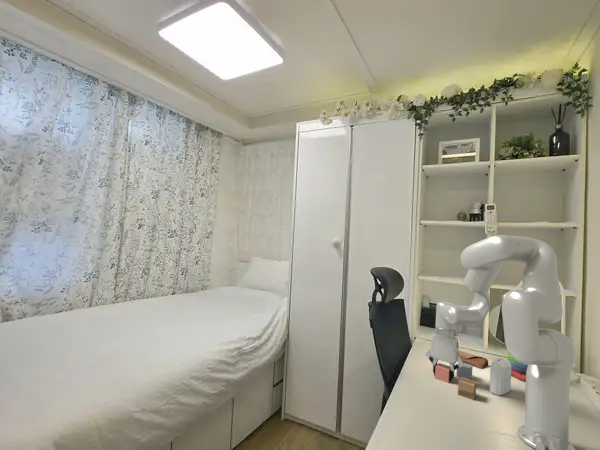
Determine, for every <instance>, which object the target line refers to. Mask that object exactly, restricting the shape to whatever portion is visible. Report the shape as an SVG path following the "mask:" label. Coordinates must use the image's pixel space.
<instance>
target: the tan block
mask: <svg viewBox="0 0 600 450" xmlns="http://www.w3.org/2000/svg"><path fill="white" fill-rule="evenodd" d="M457 396H461V397H463V398H466V399H469V400H471V401H474V400H475V398H476V396H477V381H475V380H472V379H471V380H469V379H466V378H463V377H461V378H460V377H459V380H458V385H457Z"/></svg>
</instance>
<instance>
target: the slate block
mask: <svg viewBox="0 0 600 450" xmlns="http://www.w3.org/2000/svg"><path fill="white" fill-rule="evenodd" d="M473 367H474V366H473V365H470V364H466V363H464V366H462V367H459V368H457V369H456V377H458V378H459V379H460V378H461V377H463V378H466V379H469V380H472V378H473Z"/></svg>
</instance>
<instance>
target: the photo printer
mask: <svg viewBox="0 0 600 450" xmlns="http://www.w3.org/2000/svg"><path fill="white" fill-rule="evenodd" d="M489 371H490V372H489V374H490V375H489V391H490V392H491V394H494V395H497V396H502V395H504V394H507V393H509V392H510V391H511V389H512V388H511V387H512V385H511V384H512V376H511V363H510V361H509V360H508V358H504V357H499V358H497V359H496V358H495V360H493V361H492V362H491V364H490V370H489Z"/></svg>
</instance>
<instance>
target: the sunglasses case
mask: <svg viewBox="0 0 600 450" xmlns="http://www.w3.org/2000/svg"><path fill="white" fill-rule="evenodd" d="M459 357H460V358H461V360H462V361H463V363H466V364H470V365H473V366H472V367H474V368H477V369H480V370H484V369H485V368H487V367H489V360H488V359H487V358H485V357H483V356H478V355H474V354H472V353H469V352H465V351H462V350H459Z"/></svg>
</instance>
